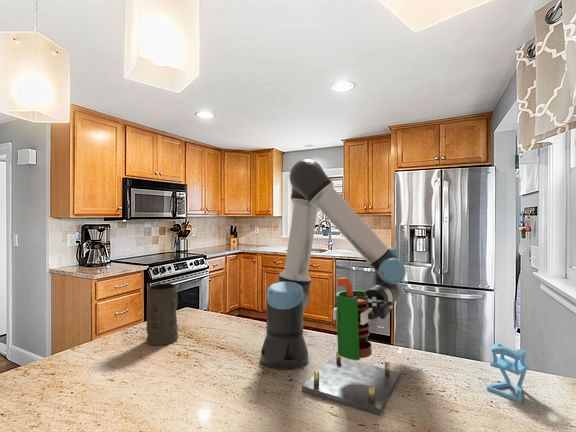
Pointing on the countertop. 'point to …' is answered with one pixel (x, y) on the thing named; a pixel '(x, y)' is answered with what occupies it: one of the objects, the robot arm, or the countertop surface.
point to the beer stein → (162, 314)
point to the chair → (508, 369)
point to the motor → (352, 322)
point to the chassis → (353, 384)
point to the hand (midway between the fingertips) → (347, 316)
